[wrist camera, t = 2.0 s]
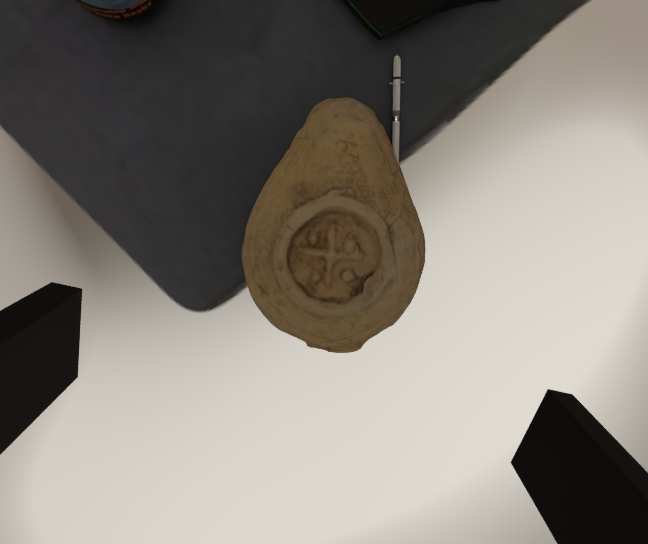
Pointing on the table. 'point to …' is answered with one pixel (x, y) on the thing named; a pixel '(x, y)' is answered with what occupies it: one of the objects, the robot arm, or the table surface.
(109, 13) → the beverage can
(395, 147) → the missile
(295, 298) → the oil lamp
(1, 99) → the table surface
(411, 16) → the computer mouse
